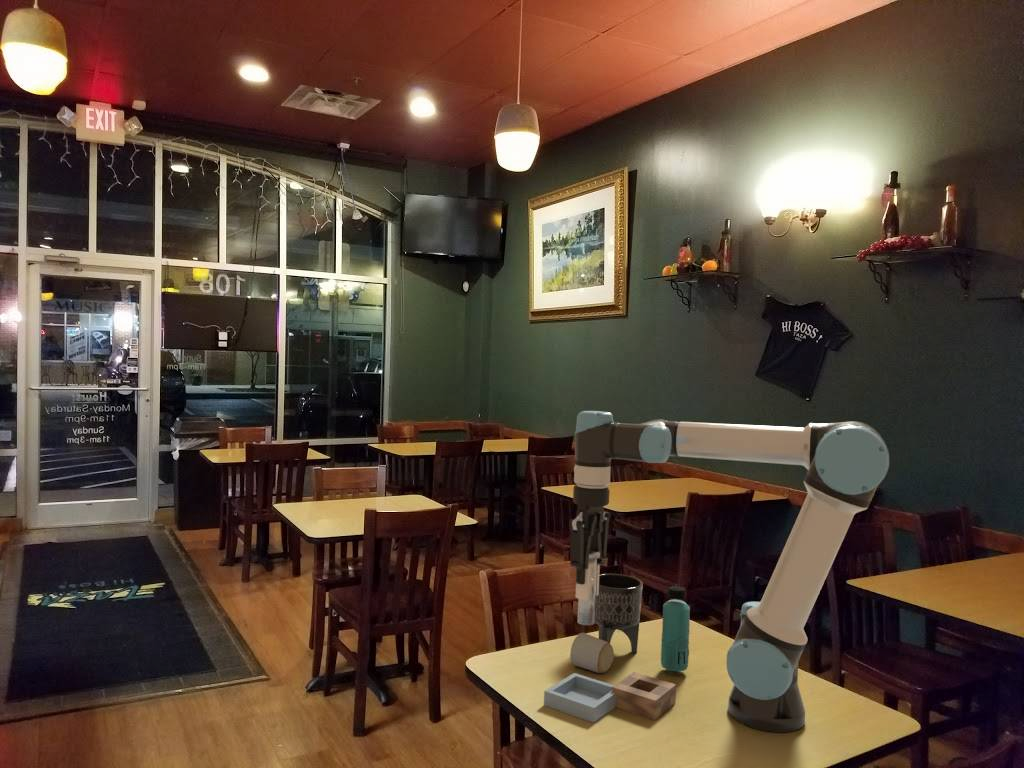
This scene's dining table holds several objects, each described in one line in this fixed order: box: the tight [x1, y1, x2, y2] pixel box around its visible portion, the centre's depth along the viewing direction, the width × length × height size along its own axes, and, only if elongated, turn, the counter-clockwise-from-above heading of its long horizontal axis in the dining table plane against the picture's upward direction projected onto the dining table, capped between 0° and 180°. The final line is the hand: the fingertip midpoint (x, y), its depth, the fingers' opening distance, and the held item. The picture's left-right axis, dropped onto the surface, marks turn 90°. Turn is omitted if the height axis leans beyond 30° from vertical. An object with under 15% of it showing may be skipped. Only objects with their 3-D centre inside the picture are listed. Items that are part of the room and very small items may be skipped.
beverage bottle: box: [660, 585, 691, 672], centre depth 179 cm, size 6×7×20 cm
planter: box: [594, 573, 644, 654], centre depth 190 cm, size 13×13×18 cm
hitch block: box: [612, 671, 677, 721], centre depth 162 cm, size 10×10×4 cm
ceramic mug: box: [570, 632, 615, 674], centre depth 181 cm, size 11×8×8 cm
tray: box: [543, 672, 616, 723], centre depth 161 cm, size 12×12×3 cm
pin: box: [577, 549, 600, 626], centre depth 160 cm, size 5×5×15 cm
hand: (587, 596), depth 160 cm, fingers closed on pin, 3 cm apart
